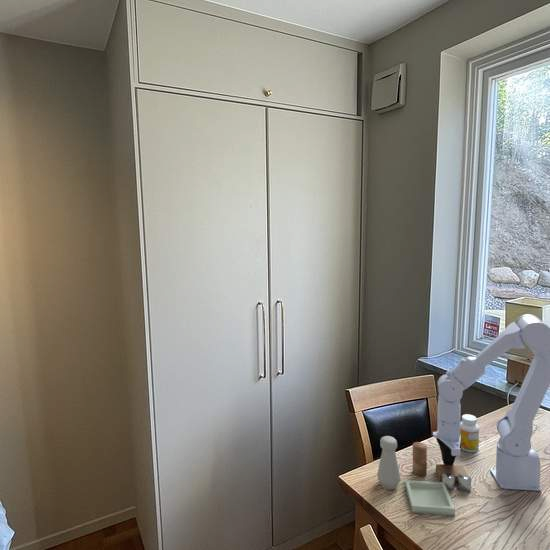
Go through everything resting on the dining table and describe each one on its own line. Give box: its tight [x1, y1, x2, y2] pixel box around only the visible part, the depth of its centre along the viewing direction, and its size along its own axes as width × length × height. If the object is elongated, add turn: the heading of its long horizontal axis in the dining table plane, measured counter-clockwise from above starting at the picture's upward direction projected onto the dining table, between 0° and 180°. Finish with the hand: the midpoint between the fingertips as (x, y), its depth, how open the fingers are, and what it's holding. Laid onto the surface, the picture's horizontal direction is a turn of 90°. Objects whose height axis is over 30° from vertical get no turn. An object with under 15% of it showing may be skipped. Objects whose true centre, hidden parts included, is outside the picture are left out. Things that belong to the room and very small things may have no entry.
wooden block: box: [435, 463, 468, 485], centre depth 107 cm, size 7×5×2 cm
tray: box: [404, 479, 456, 517], centre depth 98 cm, size 10×10×2 cm
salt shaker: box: [376, 435, 401, 491], centre depth 104 cm, size 6×6×13 cm
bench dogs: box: [442, 473, 472, 493], centre depth 102 cm, size 7×3×3 cm, turn 81°
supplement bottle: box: [460, 413, 480, 453], centre depth 120 cm, size 5×5×10 cm
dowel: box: [412, 441, 428, 478], centre depth 109 cm, size 4×4×8 cm
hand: (448, 465), depth 110 cm, fingers closed
